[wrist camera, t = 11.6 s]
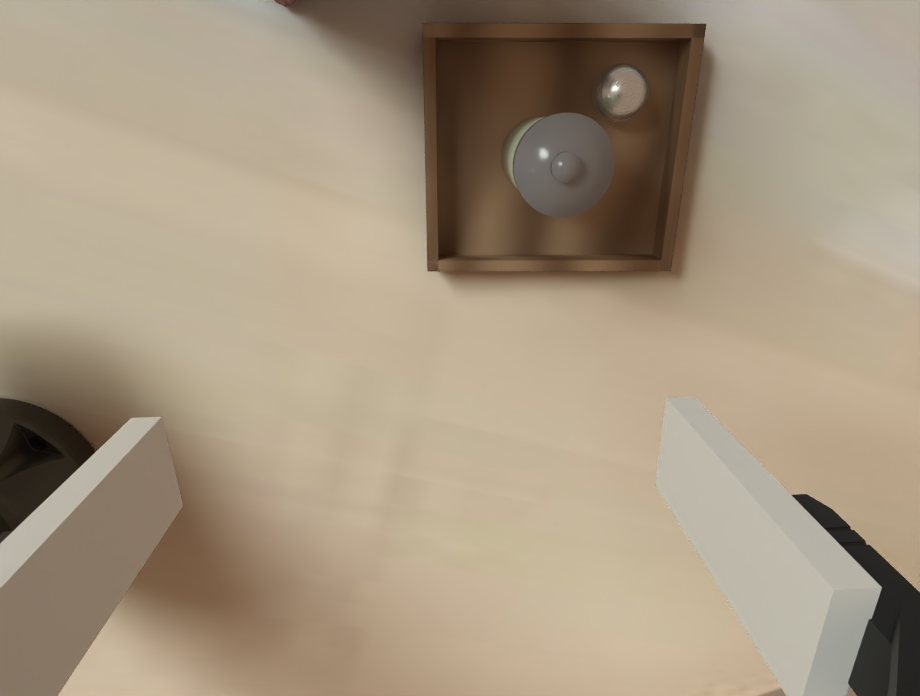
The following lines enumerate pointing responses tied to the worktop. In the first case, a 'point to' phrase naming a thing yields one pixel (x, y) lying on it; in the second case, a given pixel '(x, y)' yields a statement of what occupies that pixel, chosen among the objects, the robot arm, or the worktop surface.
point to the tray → (538, 95)
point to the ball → (620, 92)
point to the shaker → (559, 163)
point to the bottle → (285, 2)
